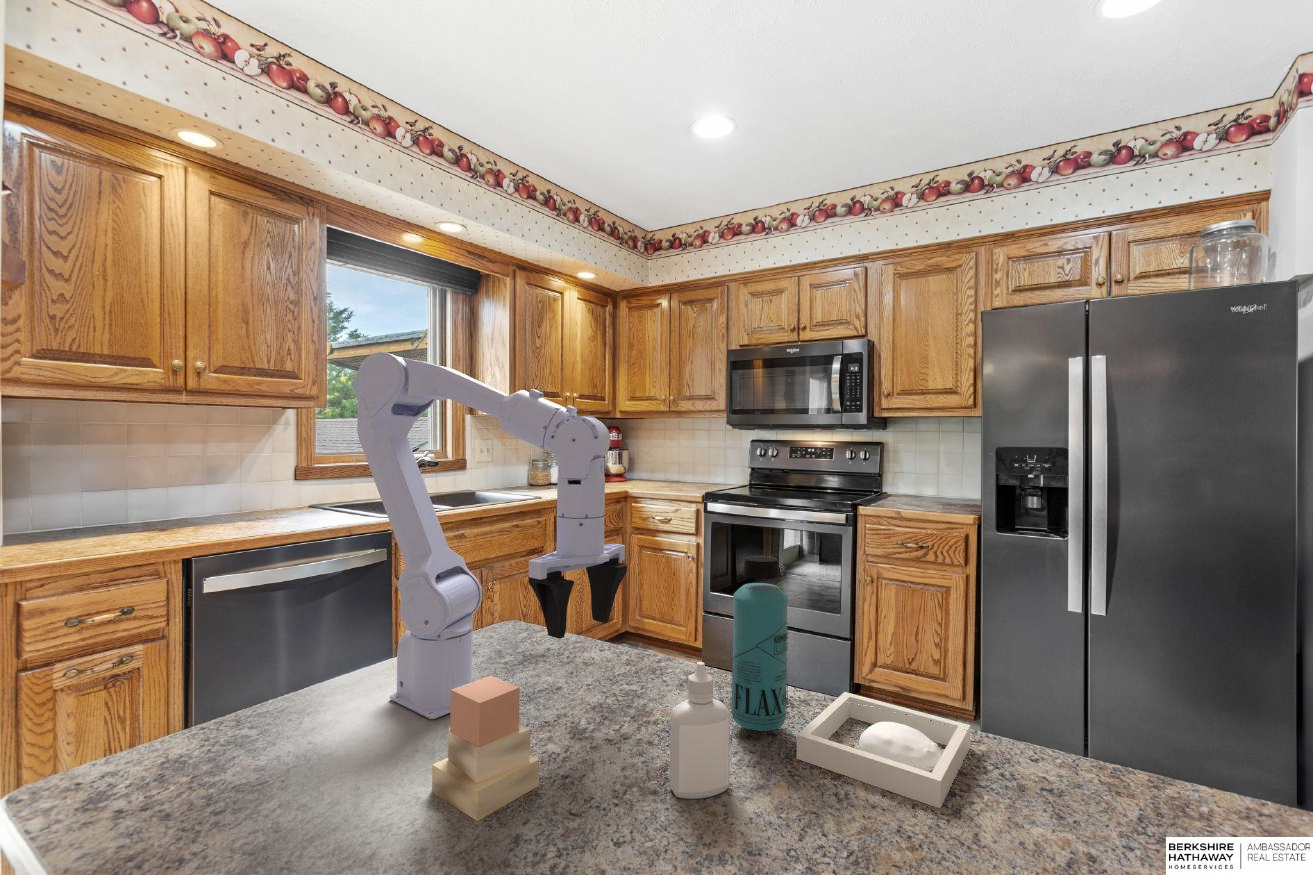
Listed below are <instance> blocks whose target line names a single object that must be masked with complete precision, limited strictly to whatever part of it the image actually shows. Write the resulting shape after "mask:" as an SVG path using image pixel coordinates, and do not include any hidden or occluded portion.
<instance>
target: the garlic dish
mask: <svg viewBox="0 0 1313 875" xmlns="http://www.w3.org/2000/svg"><path fill="white" fill-rule="evenodd" d="M845 701H847V702H851V703H856V704H851V703H850V704H849V703H846V702H845ZM857 704H862V705H857ZM863 705H868V706H863ZM869 706H874V707H875V708H874V707H869ZM879 708H881V709H879ZM894 712H897V713H894ZM905 714H907V715H905ZM909 715H913V716H909ZM918 717H920V718H918ZM849 719H854V720H858V721H861V722H864V723H868V724H871V725H874V724H876V723H878V722H895V723H899V724H903V725H906V726H909V727H912V728H914V729H916V730H918V731H920V732H921V733H923V734H924V735H925V736H926V737H928V738H929V739H930V740H932V741H933V742H934V743H936V744H940V745H944V746H945V749H944V750H943V752H942V753H941V757H940V759H939V760H938V762H937V764H936V766H935V767H934V769H933V771H932V772H927V771H924V770H921V769H918V768H915V767H912V766H909V765H905V764H902V763H899V762H896V761H893V760H890V759H887V758H883V757H880V756H877V755H874V754H871V753H868V752H865V751H861V750H860V749H857V748H855V747H851V746H848V745H845V744H842V743H839V742H835V741H833V740H829V739H830V737H832V736H833V735H834V734H835V732H837V731H838V729H839V728H841V726H843V724H844V723H845V722H846V721H848V720H849ZM925 719H926V720H925ZM929 720H932V721H933V722H930V721H929ZM937 723H940V724H937ZM941 724H945V725H941ZM946 725H947V726H946ZM949 726H954V727H949ZM964 729H965V730H964ZM966 730H968V731H966ZM970 749H971V725H970V724H968V723H964V722H961V721H957V720H952V719H949V718H946V717H945V718H944V717H941V716H938V715H933V714H929V713H927V712H923V711H922V712H921V711H918V710H914V709H911V708H907V707H903V706H900V705H896V704H892V703H888V702H884V701H881V700H876V699H873V698H869V697H865V696H862V695H858V694H853V693H850V692H847V691H843V693H841V694H840V695H839V696H838V697H837V698H836V699H834V701H833V702H832V703H830V704H829V705H828V706H827V707H826V708H825V709H824V710H823V711H822V712H821V713H819V714H818V715H817V716H816V717H815V718H814V719H813V720H811V721H810V723H808V724H807V725H806V726H804V728H803V729H801V730H800V731H799V732H798V733H797V734H796V760H800V761H802V762H805V763H808V764H811V765H814V766H817V767H819V768H823V769H825V770H827V771H831V772H834V773H837V774H839V775H842V776H845V777H848V778H850V779H851V778H852V779H853V780H857V781H859V782H862V783H866V784H868V785H871V786H875V787H877V788H880V789H883V790H886V791H888V792H892V793H894V794H897V795H899V796H903V797H906V798H909V799H910V800H911V799H912V800H914V801H917V802H920V803H923V804H926V805H929V806H931V807H934V808H938V809H941V807H942V806H943V804H944V801H945V800H946V798H947V795H948V794H949V791H950V790H951V788H950V787H952V786H953V784H952V783H954V782H955V780H956V777H957V775H958V773H959V771H960V769H961V768H962V765H963V763H964V761H965V759H964V758H966V757H967V755H968V753H969V751H970ZM966 754H967V755H966ZM965 756H966V757H965ZM963 760H964V761H963ZM958 770H959V771H958ZM954 779H955V780H954ZM953 781H954V782H953Z"/></svg>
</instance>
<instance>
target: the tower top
mask: <svg viewBox="0 0 1313 875" xmlns="http://www.w3.org/2000/svg"><path fill="white" fill-rule="evenodd" d="M447 737H448V742H447V743H448V746H447V758H448V760H449V761H450V762H452V763H453V764H454V765H455V766H456V767H458V768H459V769H460V770H461V771H463V772H464V773H465V774H466V775H467V776H469V777H470V778H471V779H472V780H474V781H475V782H476V783H478V782H481V781H483V780H485V779H488V778H490V777H492V776H495V775H497V774H500V773H502V772H504V771H507V770H509V769H511V768H514V767H516V766H518V765H521V764H523V763H526V762H528V761H530V755H531V754H530V753H531V750H530V749H531V744H530V743H531V729H530V728H528V727H527V726H526V725H524V724H522V723H520V722H519V730H516V731H514V732H512V733H510V734H508V735H506V736H503V737H501V738H499V739H497V740H495V741H493V742H490V743H488V744H486V745H484V746H482V747H480V748H479V747H477V746H475V745H473V744H471V743H470V742H468V741H466V740H464V739H462V738H460V737H458V736H456V735H454V734H452V733H451V732H450V727H448V736H447Z"/></svg>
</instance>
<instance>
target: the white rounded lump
mask: <svg viewBox="0 0 1313 875" xmlns="http://www.w3.org/2000/svg"><path fill="white" fill-rule="evenodd" d="M858 745H859V750H861V751H865V752H868V753H871V754H874V755H877V756H880V757H883V758H887V759H890V760H893V761H896V762H899V763H902V764H905V765H909V766H912V767H915V768H918V769H921V770H924V771H927V772H931V773H932V771H933V769H934V767H935V766H936V764H937V762H938V760H939V759H940V757H941V755H942V751H941V749H940V747H939V746H938V743H937V742H933V741H932V740H930V739H929V738H928V737H926V736H925V735H924V734H923V733H921V732H920V731H918V730H916V729H914V728H912V727H909V726H906V725H903V724H899V723H895V722H878V723H876V724H871V725H870V726H869V727H867V728H866V729H865V730H864V731H863V732H862V733H861V734H860V737H859V739H858Z"/></svg>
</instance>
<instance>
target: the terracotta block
mask: <svg viewBox="0 0 1313 875" xmlns="http://www.w3.org/2000/svg"><path fill="white" fill-rule="evenodd" d="M520 691H521V689H520V686H517V685H515V684H512V683H510V682H508V681H505V680H502V679H500V678H498V677H494V676H492V675H488V676H486V677H483V678H480V679H476V680H474V681H472V682H471V683H468V684H466V685H463V686H460V687H457V688H454V689H452V690H451V708H450V713H449V716H450V721H449V722H450V724H449V728H450V732H451V733H452V734H454V735H456V736H458V737H460V738H462V739H464V740H466V741H468V742H470V743H471V744H473V745H475V746H477V747H479V748H480V747H482V746H484V745H486V744H488V743H490V742H493V741H495V740H497V739H499V738H501V737H503V736H506V735H508V734H510V733H512V732H514V731H516V730H519V723H520V698H521V697H520Z"/></svg>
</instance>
